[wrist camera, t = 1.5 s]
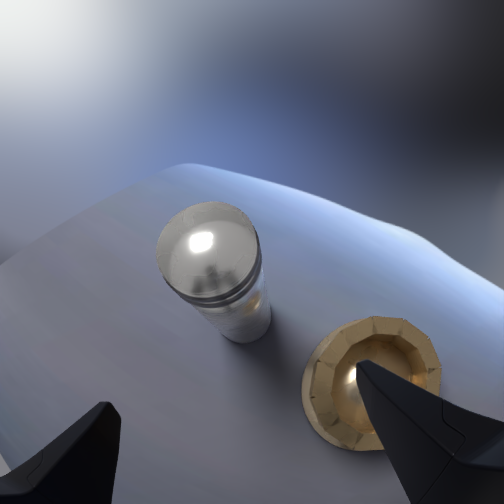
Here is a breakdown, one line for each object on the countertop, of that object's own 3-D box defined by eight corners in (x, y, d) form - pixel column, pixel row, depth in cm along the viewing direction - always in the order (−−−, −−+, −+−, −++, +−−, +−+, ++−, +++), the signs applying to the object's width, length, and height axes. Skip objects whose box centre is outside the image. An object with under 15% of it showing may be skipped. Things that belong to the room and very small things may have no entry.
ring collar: (440, 407, 16) (463, 407, 13) (326, 468, 16) (334, 482, 13) (395, 301, 21) (412, 286, 18) (281, 352, 21) (280, 345, 17)
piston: (280, 332, 21) (274, 271, 11) (225, 352, 21) (164, 310, 11) (261, 282, 24) (238, 187, 13) (209, 300, 23) (148, 220, 13)
